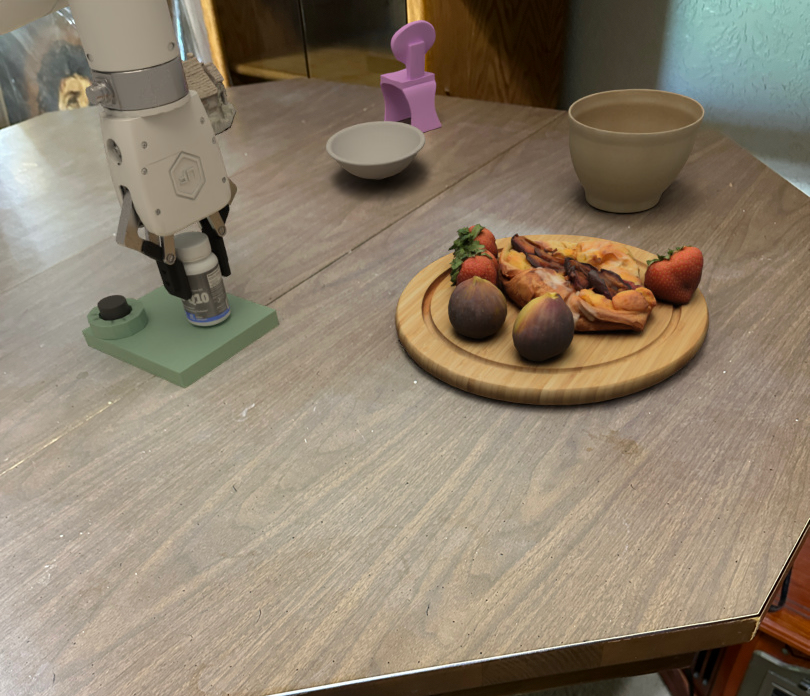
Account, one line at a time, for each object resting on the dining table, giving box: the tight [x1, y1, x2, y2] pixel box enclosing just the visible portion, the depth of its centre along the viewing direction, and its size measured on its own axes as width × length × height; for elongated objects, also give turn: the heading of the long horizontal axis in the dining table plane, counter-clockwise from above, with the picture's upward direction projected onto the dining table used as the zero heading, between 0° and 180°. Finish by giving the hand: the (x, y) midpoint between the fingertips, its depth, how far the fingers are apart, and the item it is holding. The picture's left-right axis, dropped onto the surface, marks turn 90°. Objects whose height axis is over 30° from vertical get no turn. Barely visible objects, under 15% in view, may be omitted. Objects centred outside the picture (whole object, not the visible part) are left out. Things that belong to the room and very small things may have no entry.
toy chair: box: [379, 19, 442, 133], centre depth 117 cm, size 8×9×15 cm
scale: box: [81, 284, 280, 389], centre depth 78 cm, size 16×14×4 cm
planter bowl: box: [567, 88, 706, 214], centre depth 92 cm, size 16×16×11 cm
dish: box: [325, 120, 426, 180], centre depth 105 cm, size 18×14×5 cm
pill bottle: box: [174, 231, 231, 326], centre depth 75 cm, size 5×5×8 cm
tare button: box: [96, 294, 131, 321], centre depth 77 cm, size 3×3×2 cm
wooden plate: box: [394, 223, 710, 406], centre depth 73 cm, size 32×32×8 cm
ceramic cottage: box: [181, 52, 237, 135], centre depth 127 cm, size 16×16×15 cm
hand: (199, 282), depth 75 cm, fingers closed on pill bottle, 4 cm apart
